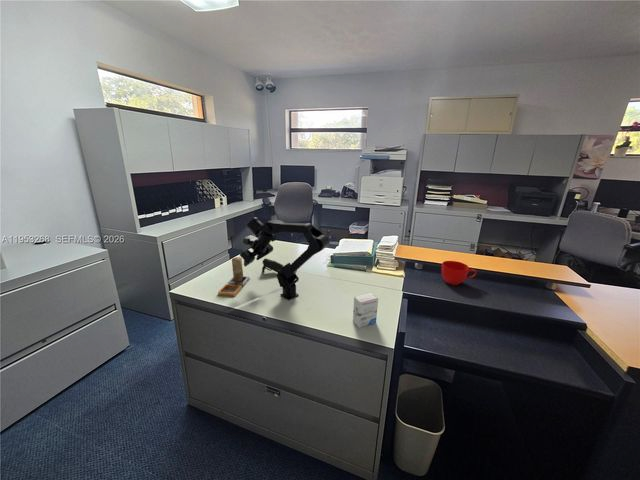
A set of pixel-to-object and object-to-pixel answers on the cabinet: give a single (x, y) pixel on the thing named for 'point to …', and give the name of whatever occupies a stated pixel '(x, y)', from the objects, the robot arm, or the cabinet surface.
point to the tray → (233, 287)
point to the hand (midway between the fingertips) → (251, 262)
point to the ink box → (365, 309)
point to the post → (237, 269)
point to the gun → (271, 265)
